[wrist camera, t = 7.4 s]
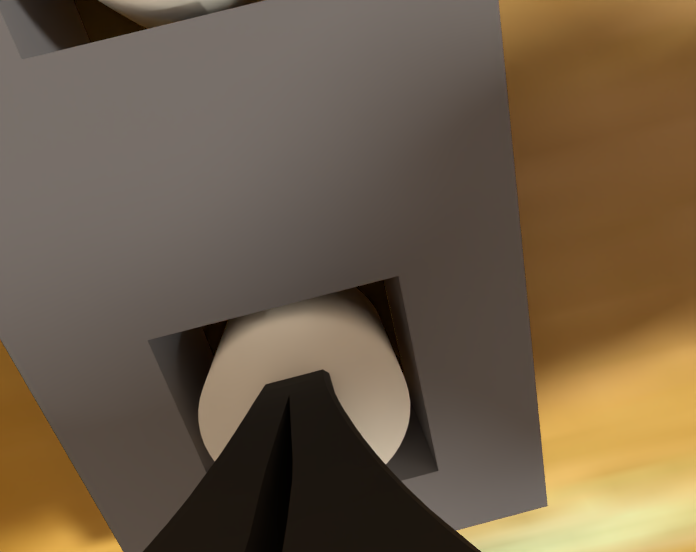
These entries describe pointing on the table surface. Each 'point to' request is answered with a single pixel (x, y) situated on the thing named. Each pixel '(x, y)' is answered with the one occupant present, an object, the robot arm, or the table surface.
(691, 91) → the table surface
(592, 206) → the table surface
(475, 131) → the control strip
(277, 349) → the button
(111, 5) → the button mid
